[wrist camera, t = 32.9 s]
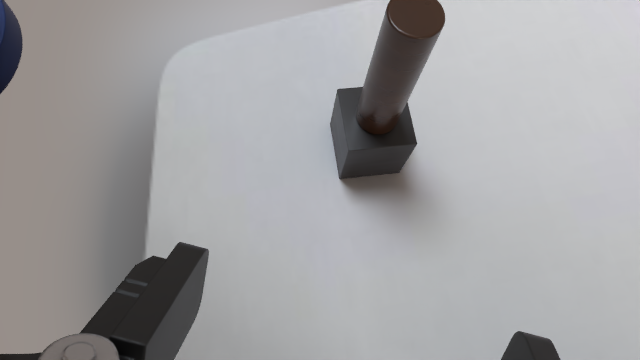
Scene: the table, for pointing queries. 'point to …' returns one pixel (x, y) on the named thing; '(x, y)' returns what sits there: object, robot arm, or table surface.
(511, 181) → the table surface
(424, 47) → the cylinder on square base
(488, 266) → the table surface
